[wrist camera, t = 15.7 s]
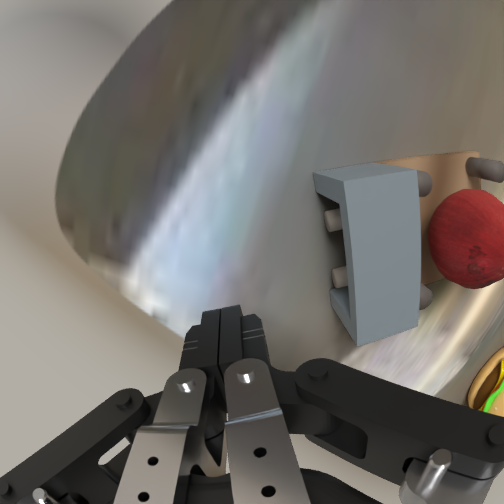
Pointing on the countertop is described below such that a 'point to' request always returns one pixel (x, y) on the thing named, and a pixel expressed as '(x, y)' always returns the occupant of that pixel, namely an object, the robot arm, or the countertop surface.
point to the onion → (468, 238)
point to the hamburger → (489, 386)
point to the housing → (377, 248)
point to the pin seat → (431, 201)
